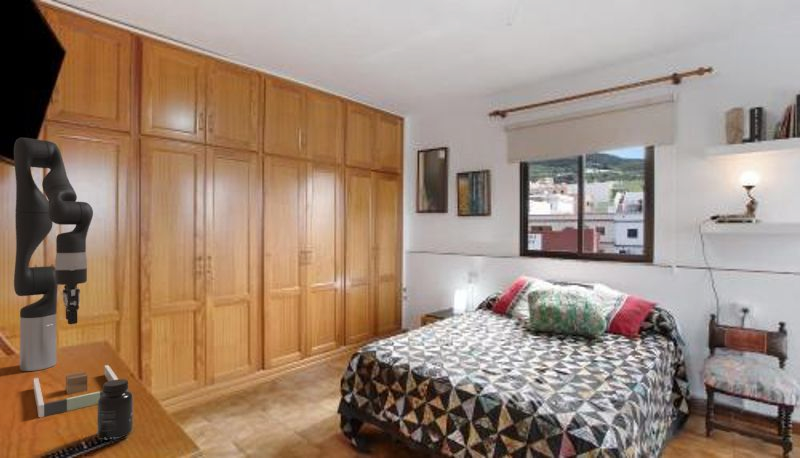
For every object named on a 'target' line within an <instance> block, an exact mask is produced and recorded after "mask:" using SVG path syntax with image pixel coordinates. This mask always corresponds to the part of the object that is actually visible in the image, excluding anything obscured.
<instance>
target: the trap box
mask: <svg viewBox="0 0 800 458" xmlns="http://www.w3.org/2000/svg"><path fill="white" fill-rule="evenodd" d="M104 376H105V379H106V380H107V382H109V381H112V380H118V379H119V378H118V376H117V375H116V373H115V372H114V371H113V369H112V367H111V366H109V364H107V365H104ZM33 392H34V398H35V404H36V410H37V415H38V418H39V417H40V418H44V417H48V416H51V415H56V414H61V413H64V412H68V411H67V398H68V397H67V398H62V399H57V400H53V401H49V402H45V401H44V399H43V394H42V390H41V384H40V380H39V377H35V378H33ZM98 392H100V397H101V396H102V395H104V394H103V390H99V391H98Z"/></svg>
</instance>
